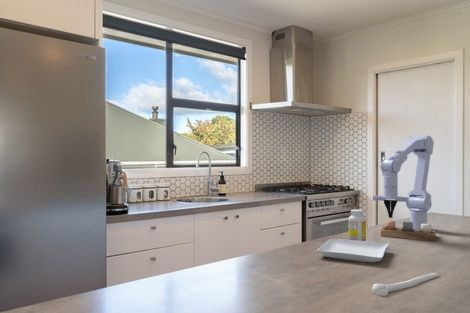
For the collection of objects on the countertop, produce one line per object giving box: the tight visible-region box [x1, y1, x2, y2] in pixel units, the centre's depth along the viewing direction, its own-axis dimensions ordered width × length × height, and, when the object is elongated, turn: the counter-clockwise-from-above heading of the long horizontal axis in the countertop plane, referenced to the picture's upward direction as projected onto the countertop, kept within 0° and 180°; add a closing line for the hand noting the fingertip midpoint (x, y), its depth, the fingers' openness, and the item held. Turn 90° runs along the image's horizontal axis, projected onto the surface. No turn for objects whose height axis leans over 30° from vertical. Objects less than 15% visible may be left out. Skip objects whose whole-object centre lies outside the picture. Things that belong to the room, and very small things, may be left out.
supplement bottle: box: [348, 209, 367, 241], centre depth 152 cm, size 7×7×13 cm
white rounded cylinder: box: [421, 223, 432, 233], centre depth 161 cm, size 4×4×4 cm
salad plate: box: [316, 238, 390, 264], centre depth 133 cm, size 21×21×3 cm
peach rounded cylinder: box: [385, 220, 396, 230], centre depth 167 cm, size 4×4×4 cm
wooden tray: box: [380, 225, 437, 242], centre depth 164 cm, size 11×21×2 cm, turn 64°
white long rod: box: [371, 272, 439, 297], centre depth 103 cm, size 28×4×3 cm, turn 124°
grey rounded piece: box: [402, 220, 413, 231], centre depth 164 cm, size 4×4×4 cm
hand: (390, 217), depth 167 cm, fingers closed
